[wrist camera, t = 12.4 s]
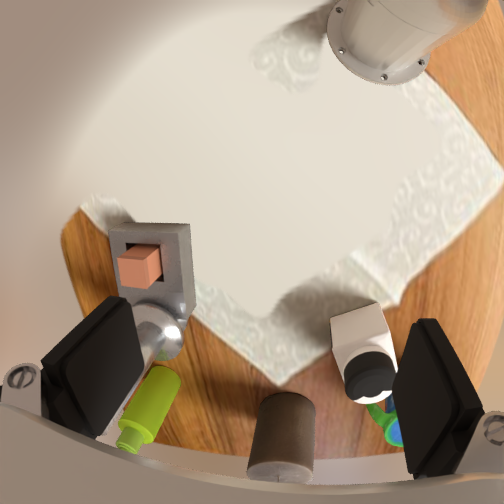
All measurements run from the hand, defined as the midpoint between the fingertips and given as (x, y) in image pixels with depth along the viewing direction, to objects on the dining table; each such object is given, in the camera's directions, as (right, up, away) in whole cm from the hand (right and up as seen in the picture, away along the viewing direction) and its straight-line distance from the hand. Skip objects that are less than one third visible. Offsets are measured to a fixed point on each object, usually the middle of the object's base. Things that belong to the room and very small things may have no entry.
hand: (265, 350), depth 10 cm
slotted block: (-13, -1, +33) cm, 36 cm away
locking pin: (-13, +3, +32) cm, 34 cm away
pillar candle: (+6, -24, +39) cm, 46 cm away
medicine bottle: (+15, -8, +31) cm, 35 cm away
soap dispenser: (-15, -19, +41) cm, 47 cm away
